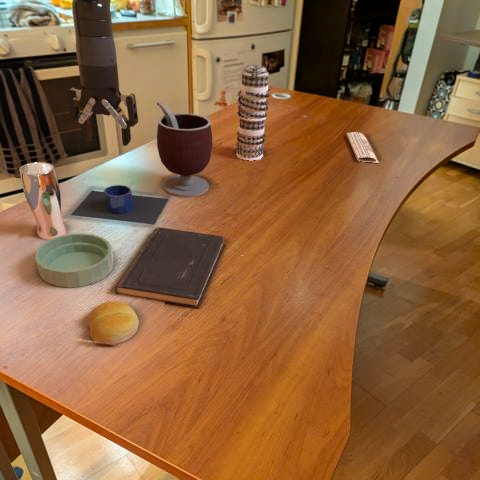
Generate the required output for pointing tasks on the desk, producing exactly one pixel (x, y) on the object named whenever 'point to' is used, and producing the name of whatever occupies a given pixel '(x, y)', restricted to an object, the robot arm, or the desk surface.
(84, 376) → the desk surface
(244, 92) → the patterned cylindrical tower
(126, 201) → the small cup
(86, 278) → the big bowl
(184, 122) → the mate gourd
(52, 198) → the beer glass
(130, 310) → the bread roll
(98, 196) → the mat
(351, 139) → the newspaper
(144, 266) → the hardcover book
